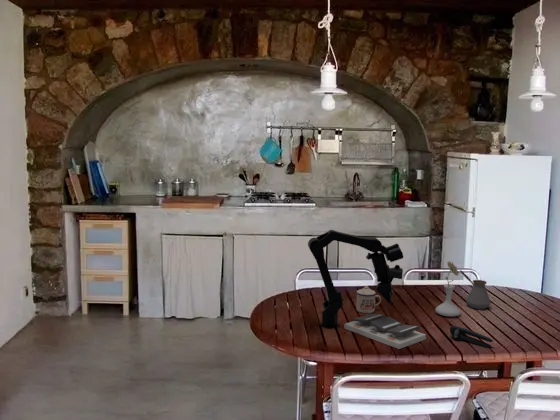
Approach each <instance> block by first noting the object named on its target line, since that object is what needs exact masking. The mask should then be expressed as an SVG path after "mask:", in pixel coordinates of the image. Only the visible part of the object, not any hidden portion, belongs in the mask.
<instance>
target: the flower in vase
mask: <svg viewBox="0 0 560 420" xmlns="http://www.w3.org/2000/svg"><path fill="white" fill-rule="evenodd" d="M447 266H448V268H449V272H448V274H447V276H445V280H446V281H447V284H444V285H443V287H444V289H445V294H446V295H445V300H444V302H442V303H440V304H438V305H437V306H436V307H435V312H436V313H437V314H438V315H441V316H445V317H457V316H459V315H461V313H462V312H461V309H459V307H458V306H456V305H455V303H453V302H452V293H453V290H454V289H455V288H456V286H455V285H453V284H450V283H451V282H454V279H452V280H450V281H449V275H450V274H451V272H452V274H454V275H455V276H456V277H457V276H459V275H460V274H459V272H460V271H459V270H458V269H457V266H456V265H455V264H454V262H452V261H451V260H449V261H447Z"/></svg>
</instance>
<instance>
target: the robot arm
mask: <svg viewBox="0 0 560 420" xmlns="http://www.w3.org/2000/svg"><path fill="white" fill-rule="evenodd" d="M334 241H336V242H340V243H343V244H344V243H345V244H348V245H352V246H358V247H360V248H363V249H365V250H367V251H368V252H367V255H366V256H365V258H366V259H367V260H368V261H369V260H371V262H372V265H373V269H374V274H375V275H376V282H377V284H376V291H377V293H378V294H379V295H380V296H382V297H383V299H384V300H385V301H386V302H387V303H388V304H392V297H391V296H392V295H393V284H392V282H393V280H394V279H398V280H402V279H403V272H404V271H403V268H402V267H400V264H395V265H394V266H393V267H390V266H389V264H387V262H388V261H389V262H390V263H393V262H396V261H399V260H402V259H404V253H403V251H402V249H401V247H400V245H399V243H394V244H393V245H389V246H387V247H386V246H385V245H383V244H382V241H381V240H379V239H378V238H377V237H374V236H358V235H354V234H350V233H345V232H341V231H337V230H334V229H329V230H328V231H327V232H325V233H323V234H320V235H318V236H316V237H311V238H310V239H309V240H308V242H307V247H308V248H309V251H310V252H311V255H312V256H313V258H314V259H315V262H316V263H317V267H318V270H319V273H320V276H321V279H322V282H323V285H324V288H325V292H326V293H325V294H326V300H325V301H324V302H323V303H322V308H323V311H322V313H321V322H320V323H319V325H320V326H322V327H325V328H327V329H333V328H336V327H340V324H339V323H338V320H339V313H338V312H339V310H341V308H342V307H343V302H344V298H343V296H342V293H341V291H340V289H339V288H335V286H334V285H335V284H334V282H333V279H332V276H331V274H330V270H329V268H328V265H327V262H326V260H325V251H324V250H325V249H324V248H326V247H327V246H329V245H330V244H331V243H332V242H334ZM371 252H372V253H371Z"/></svg>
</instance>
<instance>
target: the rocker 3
mask: <svg viewBox="0 0 560 420" xmlns="http://www.w3.org/2000/svg"><path fill="white" fill-rule="evenodd" d="M419 329H420V326H419V325H410V324H401V326H399V327H396V328H393V329H390V330H387V333H390V334H397V335H403V334H406V333H409V332H411V331H417V330H419Z"/></svg>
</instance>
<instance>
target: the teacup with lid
mask: <svg viewBox="0 0 560 420" xmlns="http://www.w3.org/2000/svg"><path fill="white" fill-rule="evenodd" d="M376 298H378V302H377V303H376ZM381 301H382V298H381V295H380V294H377V293H376V291H375V290H373V289H371V288H370V287H369V286H368V285H365V286H364V287H363V288H360V289H358V290H357V291H356V309H355V310H356V311H357V312H358V313H363V314H373V313H374V312H375V310H376V307H377V306H378V305H380V304H381Z"/></svg>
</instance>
